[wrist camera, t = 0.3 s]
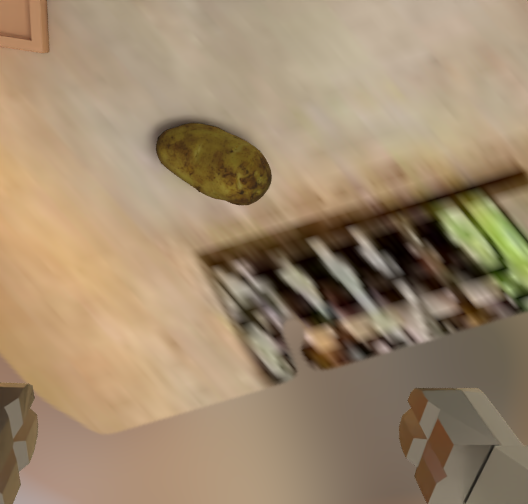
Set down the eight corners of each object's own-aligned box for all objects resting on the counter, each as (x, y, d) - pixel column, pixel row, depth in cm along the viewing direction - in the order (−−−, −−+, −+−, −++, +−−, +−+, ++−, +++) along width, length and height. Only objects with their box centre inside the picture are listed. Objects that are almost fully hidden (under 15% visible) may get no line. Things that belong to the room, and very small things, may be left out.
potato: (191, 89, 51) (188, 100, 44) (276, 158, 56) (286, 177, 48) (150, 147, 53) (141, 165, 46) (235, 208, 58) (239, 233, 51)
